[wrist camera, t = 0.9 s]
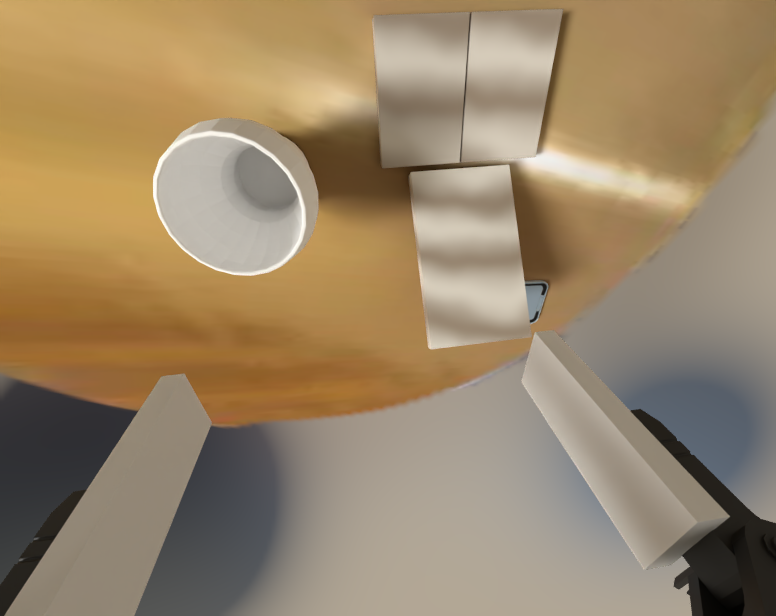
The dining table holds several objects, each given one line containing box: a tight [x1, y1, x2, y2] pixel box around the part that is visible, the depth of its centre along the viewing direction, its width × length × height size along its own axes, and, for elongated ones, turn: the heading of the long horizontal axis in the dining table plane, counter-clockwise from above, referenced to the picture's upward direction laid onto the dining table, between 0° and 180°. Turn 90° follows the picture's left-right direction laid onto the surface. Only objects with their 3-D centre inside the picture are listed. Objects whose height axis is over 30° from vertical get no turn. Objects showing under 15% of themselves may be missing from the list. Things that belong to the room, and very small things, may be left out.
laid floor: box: [372, 9, 563, 168], centre depth 31 cm, size 12×17×2 cm
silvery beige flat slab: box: [408, 165, 532, 349], centre depth 34 cm, size 19×11×2 cm
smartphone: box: [524, 280, 548, 324], centre depth 46 cm, size 7×1×15 cm
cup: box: [153, 118, 318, 276], centre depth 27 cm, size 11×11×15 cm
